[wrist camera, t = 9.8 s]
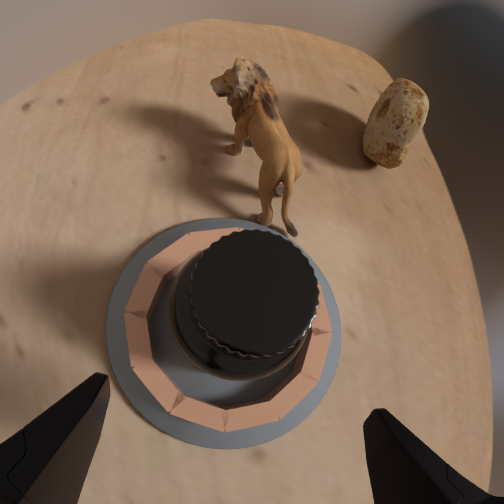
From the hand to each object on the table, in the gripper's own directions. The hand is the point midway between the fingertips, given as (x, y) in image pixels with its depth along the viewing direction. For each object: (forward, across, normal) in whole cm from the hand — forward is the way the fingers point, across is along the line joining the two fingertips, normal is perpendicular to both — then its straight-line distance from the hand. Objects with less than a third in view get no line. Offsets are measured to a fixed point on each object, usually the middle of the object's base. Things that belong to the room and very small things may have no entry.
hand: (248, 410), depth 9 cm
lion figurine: (+23, 0, -4) cm, 23 cm away
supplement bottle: (+12, 0, +6) cm, 13 cm away
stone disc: (+29, -14, -10) cm, 33 cm away
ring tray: (+12, 0, +6) cm, 14 cm away
